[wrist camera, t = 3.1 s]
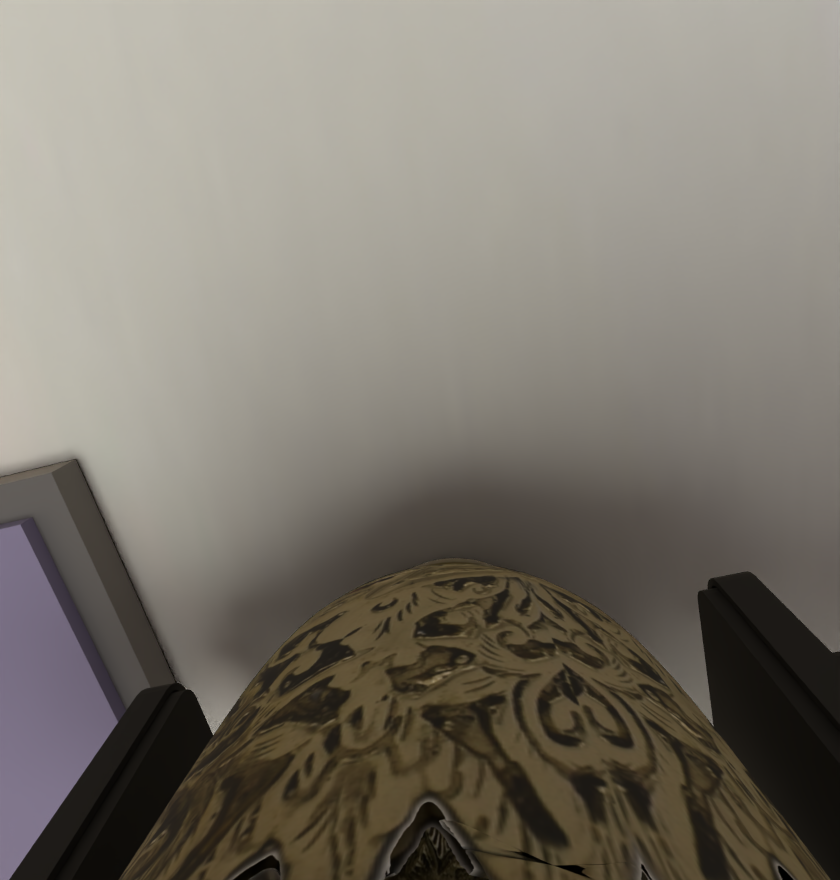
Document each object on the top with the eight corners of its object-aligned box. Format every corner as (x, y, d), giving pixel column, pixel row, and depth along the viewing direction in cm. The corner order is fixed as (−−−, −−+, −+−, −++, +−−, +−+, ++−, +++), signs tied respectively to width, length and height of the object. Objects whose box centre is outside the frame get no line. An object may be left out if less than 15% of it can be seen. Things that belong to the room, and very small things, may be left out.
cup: (320, 394, 10) (-57, 808, 2) (710, 512, 10) (1433, 1189, 3) (236, 720, 12) (-101, 1474, 5) (562, 808, 13) (743, 1636, 5)
